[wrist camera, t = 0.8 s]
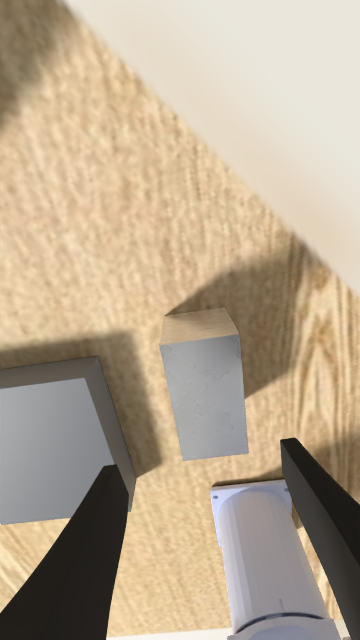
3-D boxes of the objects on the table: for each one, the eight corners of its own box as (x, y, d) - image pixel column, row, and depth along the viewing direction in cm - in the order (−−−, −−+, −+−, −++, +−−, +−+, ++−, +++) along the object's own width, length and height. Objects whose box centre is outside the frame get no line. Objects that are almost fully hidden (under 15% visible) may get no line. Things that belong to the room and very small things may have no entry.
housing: (233, 403, 21) (248, 453, 17) (182, 410, 22) (183, 460, 17) (224, 306, 18) (239, 333, 14) (164, 315, 19) (159, 345, 14)
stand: (136, 478, 25) (130, 511, 22) (21, 491, 25) (1, 524, 22) (98, 355, 20) (84, 377, 17) (-45, 375, 20) (-81, 400, 17)
